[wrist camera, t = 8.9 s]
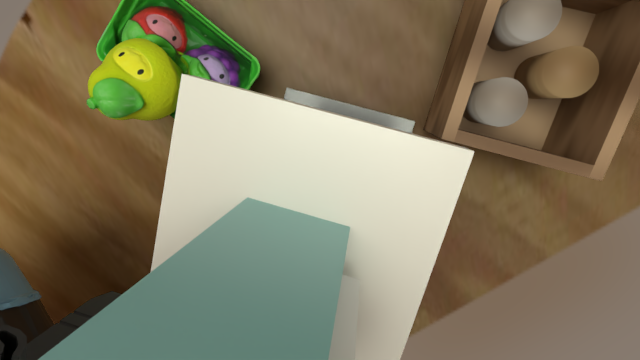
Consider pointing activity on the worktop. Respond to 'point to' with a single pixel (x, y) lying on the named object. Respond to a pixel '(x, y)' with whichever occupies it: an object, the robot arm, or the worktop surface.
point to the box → (541, 81)
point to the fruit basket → (161, 59)
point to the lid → (280, 234)
